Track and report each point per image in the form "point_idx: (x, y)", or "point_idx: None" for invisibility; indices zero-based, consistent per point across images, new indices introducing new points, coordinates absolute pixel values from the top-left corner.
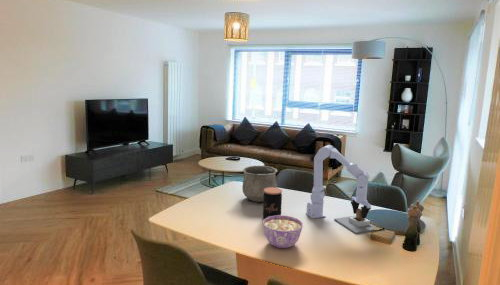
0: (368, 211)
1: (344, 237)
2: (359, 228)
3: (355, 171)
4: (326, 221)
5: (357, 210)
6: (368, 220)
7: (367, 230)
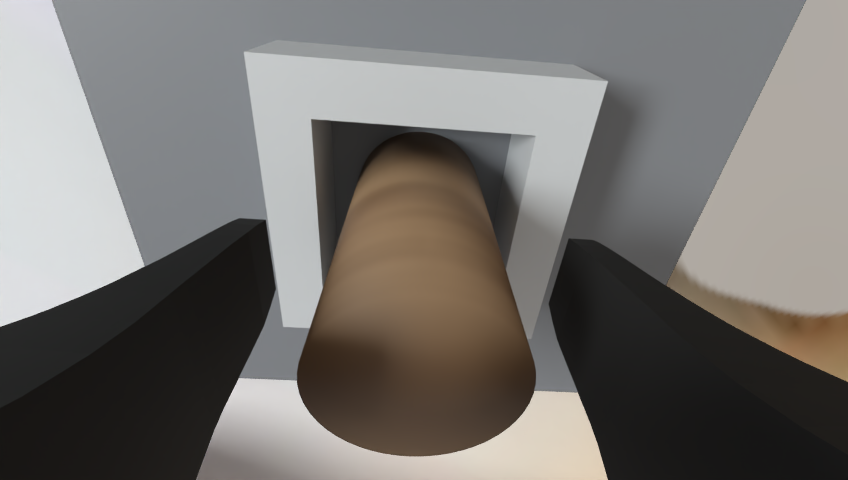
0: (795, 374)
1: (584, 470)
2: None
3: None
4: (217, 427)
5: (419, 455)
6: (572, 103)
7: (678, 258)
